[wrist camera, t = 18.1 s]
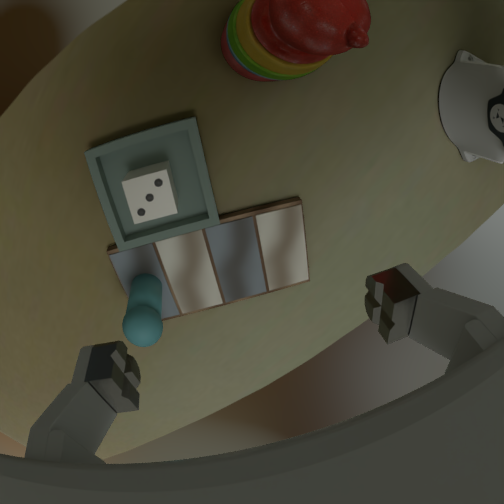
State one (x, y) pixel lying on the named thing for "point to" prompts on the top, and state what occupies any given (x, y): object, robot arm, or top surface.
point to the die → (150, 192)
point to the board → (223, 259)
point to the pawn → (144, 311)
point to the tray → (148, 153)
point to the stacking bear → (291, 35)
